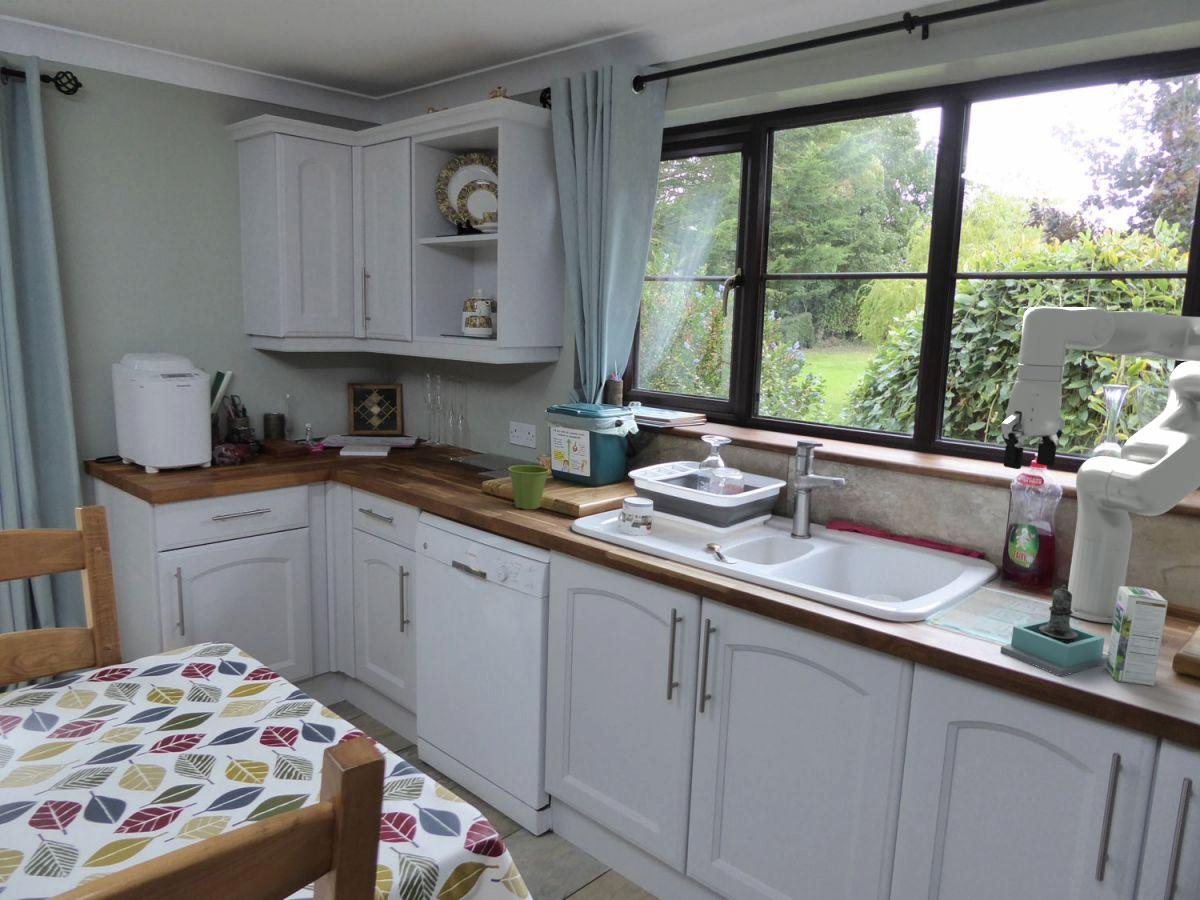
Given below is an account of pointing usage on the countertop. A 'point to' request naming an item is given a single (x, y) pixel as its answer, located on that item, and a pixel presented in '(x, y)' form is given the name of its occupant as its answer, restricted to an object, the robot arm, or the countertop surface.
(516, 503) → the plant pot
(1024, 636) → the box
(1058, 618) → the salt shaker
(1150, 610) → the syrup box
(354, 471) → the countertop surface
